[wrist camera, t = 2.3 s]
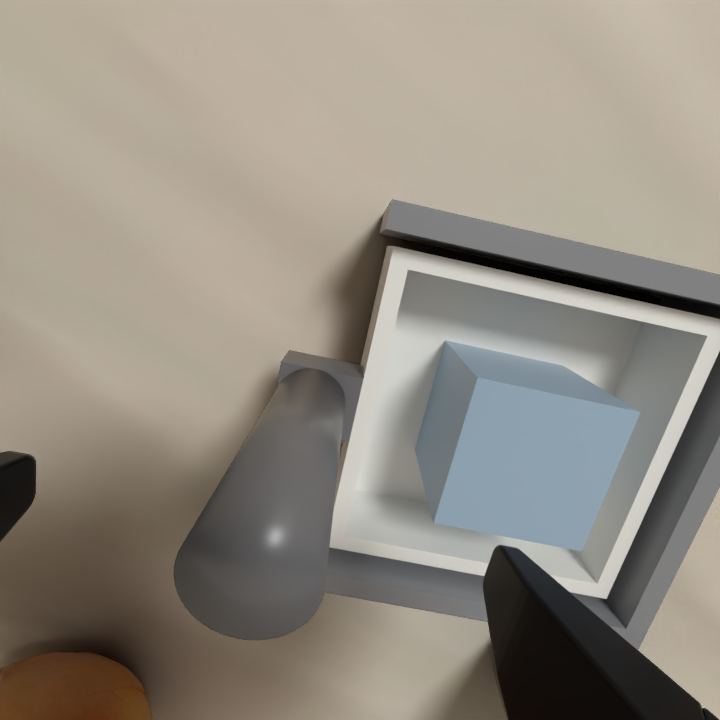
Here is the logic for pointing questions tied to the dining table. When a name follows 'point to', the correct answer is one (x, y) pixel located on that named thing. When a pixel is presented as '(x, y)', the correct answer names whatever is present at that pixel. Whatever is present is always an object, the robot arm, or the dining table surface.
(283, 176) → the dining table surface
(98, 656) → the onion
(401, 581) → the bay
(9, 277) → the dining table surface
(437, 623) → the dining table surface
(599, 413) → the light blue cube
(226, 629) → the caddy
